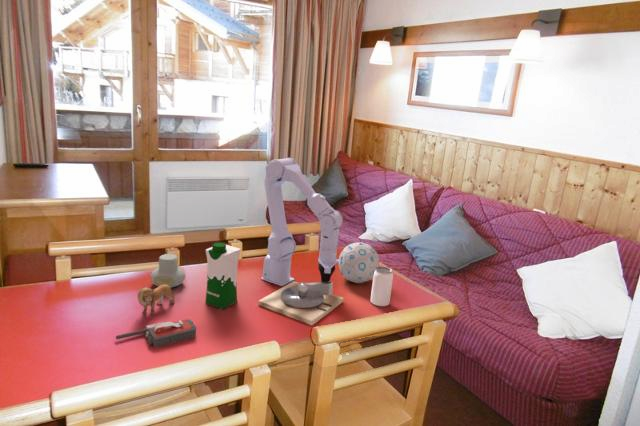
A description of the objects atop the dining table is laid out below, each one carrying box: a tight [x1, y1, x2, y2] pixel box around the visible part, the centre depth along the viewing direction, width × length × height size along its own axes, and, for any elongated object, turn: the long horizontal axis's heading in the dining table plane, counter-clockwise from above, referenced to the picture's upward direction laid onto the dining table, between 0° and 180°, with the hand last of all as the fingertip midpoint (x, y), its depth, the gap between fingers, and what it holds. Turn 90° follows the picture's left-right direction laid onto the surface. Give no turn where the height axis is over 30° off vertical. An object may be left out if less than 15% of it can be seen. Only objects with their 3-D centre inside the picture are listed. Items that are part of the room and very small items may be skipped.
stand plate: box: [257, 280, 344, 326], centre depth 146 cm, size 20×20×2 cm
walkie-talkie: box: [115, 318, 197, 348], centre depth 119 cm, size 9×4×20 cm
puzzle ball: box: [338, 241, 380, 284], centre depth 166 cm, size 15×15×15 cm
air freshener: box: [150, 253, 186, 289], centre depth 149 cm, size 11×8×10 cm
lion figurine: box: [137, 284, 175, 315], centre depth 133 cm, size 15×5×9 cm, turn 163°
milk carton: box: [205, 241, 242, 310], centre depth 139 cm, size 9×9×20 cm
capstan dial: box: [281, 280, 334, 309], centre depth 145 cm, size 17×14×5 cm
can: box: [370, 266, 394, 308], centre depth 150 cm, size 6×6×12 cm
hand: (324, 284), depth 152 cm, fingers closed
